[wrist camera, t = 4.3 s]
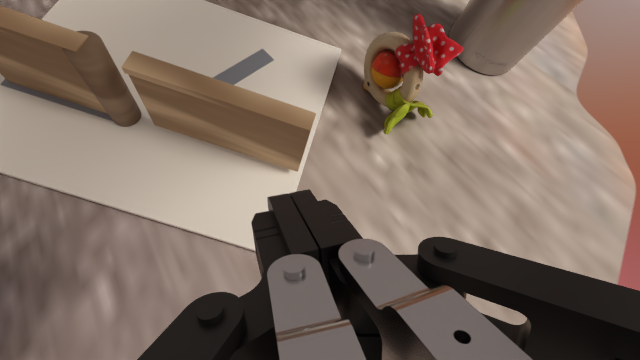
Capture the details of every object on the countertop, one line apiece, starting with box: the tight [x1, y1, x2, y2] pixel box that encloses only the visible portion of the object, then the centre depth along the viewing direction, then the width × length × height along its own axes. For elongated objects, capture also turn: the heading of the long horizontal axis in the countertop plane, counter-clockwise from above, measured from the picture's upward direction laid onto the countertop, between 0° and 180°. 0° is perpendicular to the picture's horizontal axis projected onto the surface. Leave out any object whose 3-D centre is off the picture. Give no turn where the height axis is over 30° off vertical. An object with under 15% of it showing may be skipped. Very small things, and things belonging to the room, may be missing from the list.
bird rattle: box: [363, 14, 463, 134], centre depth 32 cm, size 6×11×9 cm
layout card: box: [0, 0, 342, 252], centre depth 31 cm, size 24×28×1 cm
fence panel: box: [121, 51, 316, 172], centre depth 26 cm, size 2×13×8 cm, turn 75°
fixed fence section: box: [0, 6, 141, 127], centre depth 25 cm, size 2×11×8 cm, turn 75°
